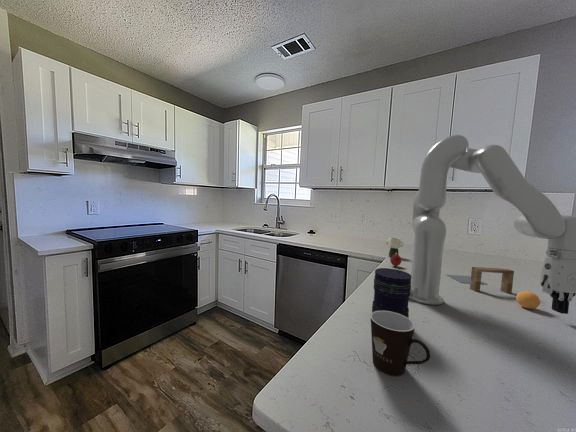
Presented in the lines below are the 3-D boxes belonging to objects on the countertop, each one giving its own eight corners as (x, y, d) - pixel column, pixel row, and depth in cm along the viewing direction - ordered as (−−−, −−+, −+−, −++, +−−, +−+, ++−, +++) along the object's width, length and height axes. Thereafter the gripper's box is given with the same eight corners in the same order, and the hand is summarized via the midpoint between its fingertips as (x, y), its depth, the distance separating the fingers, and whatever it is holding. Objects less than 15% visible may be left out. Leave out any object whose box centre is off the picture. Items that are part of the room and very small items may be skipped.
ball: (526, 311, 81) (528, 294, 81) (510, 303, 87) (512, 288, 87) (544, 312, 81) (546, 295, 80) (527, 304, 87) (529, 289, 86)
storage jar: (391, 335, 61) (396, 280, 61) (363, 318, 70) (367, 269, 69) (415, 327, 66) (419, 276, 65) (386, 312, 75) (390, 266, 74)
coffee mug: (361, 352, 54) (364, 310, 53) (396, 352, 55) (399, 310, 54) (386, 393, 42) (390, 340, 42) (431, 392, 43) (435, 340, 42)
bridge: (511, 293, 98) (514, 270, 97) (474, 291, 99) (477, 268, 98) (505, 290, 101) (507, 268, 100) (469, 288, 102) (471, 266, 101)
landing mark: (461, 282, 109) (461, 282, 109) (445, 274, 121) (445, 274, 121) (487, 284, 108) (487, 284, 108) (468, 276, 120) (468, 275, 120)
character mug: (403, 258, 157) (405, 238, 156) (400, 259, 151) (402, 239, 150) (386, 255, 164) (388, 236, 163) (383, 256, 158) (384, 237, 157)
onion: (402, 268, 129) (403, 254, 129) (391, 267, 130) (392, 253, 130) (399, 265, 135) (400, 252, 135) (388, 264, 136) (389, 251, 136)
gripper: (553, 256, 69) (547, 316, 70) (605, 258, 69) (599, 318, 70) (528, 251, 77) (523, 305, 78) (575, 253, 76) (570, 307, 77)
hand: (559, 311), depth 74 cm, fingers closed
